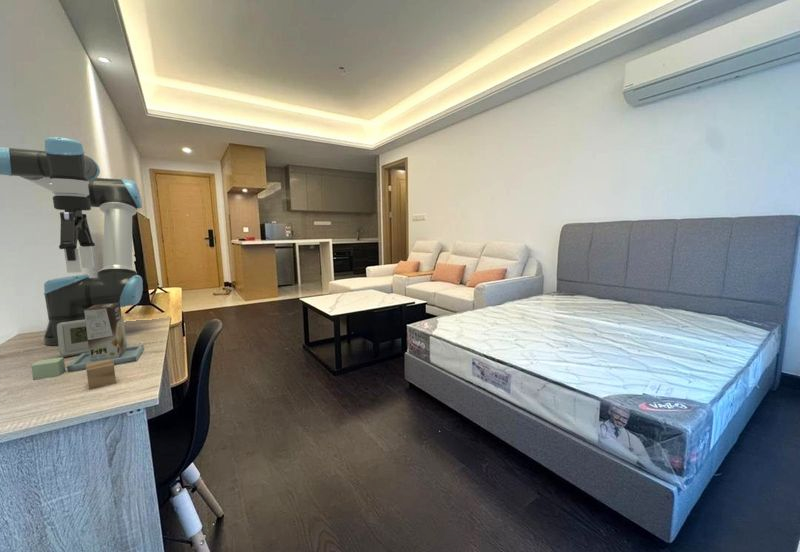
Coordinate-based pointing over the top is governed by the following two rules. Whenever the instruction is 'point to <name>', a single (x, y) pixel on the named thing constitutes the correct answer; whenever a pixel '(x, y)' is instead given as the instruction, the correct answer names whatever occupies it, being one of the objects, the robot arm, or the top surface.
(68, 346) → the digital clock
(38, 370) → the sage block
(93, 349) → the coffee box
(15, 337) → the top surface
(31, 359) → the top surface
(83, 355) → the tray
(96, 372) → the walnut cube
